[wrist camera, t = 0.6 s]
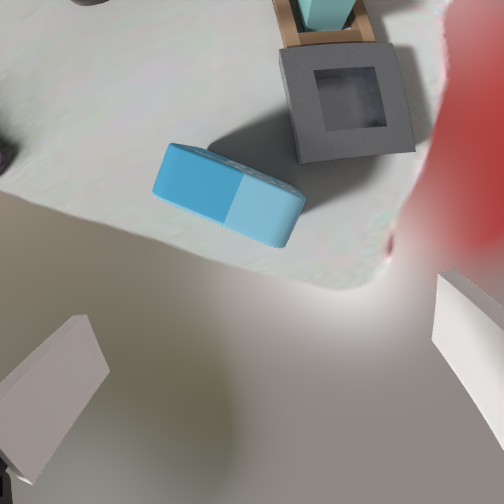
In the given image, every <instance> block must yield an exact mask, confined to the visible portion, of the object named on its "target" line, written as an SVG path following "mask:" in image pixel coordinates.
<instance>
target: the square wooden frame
mask: <svg viewBox="0 0 504 504" xmlns="http://www.w3.org/2000/svg"><path fill="white" fill-rule="evenodd" d="M272 1H273V5H274V9H275V13H276V16H277V20H278V24H279V28H280V32H281V36H282V40H283V44H284V48H293V47H302V46H312V45H324V44H341V43H375V42H376V40H375V36H374V33H373V30H372V27H371V24H370V21H369V18H368V15H367V12H366V9H365V6H364V3H363V1H362V0H356V1H355V3H354V5H353V7H352V9H351V11H350V13H349V15H348V21H349V24H350V27H351V30H333V31H317V32H305V33H298V32H297V28H296V24H295V21H294V17H293V14H292V10H291V7H290V3H289V0H272Z"/></svg>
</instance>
